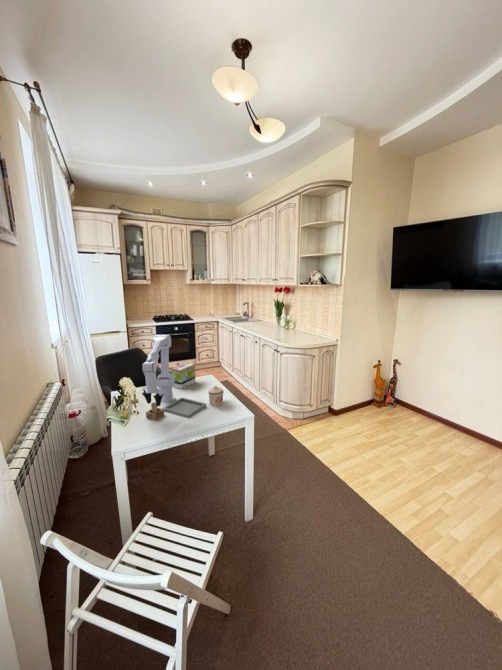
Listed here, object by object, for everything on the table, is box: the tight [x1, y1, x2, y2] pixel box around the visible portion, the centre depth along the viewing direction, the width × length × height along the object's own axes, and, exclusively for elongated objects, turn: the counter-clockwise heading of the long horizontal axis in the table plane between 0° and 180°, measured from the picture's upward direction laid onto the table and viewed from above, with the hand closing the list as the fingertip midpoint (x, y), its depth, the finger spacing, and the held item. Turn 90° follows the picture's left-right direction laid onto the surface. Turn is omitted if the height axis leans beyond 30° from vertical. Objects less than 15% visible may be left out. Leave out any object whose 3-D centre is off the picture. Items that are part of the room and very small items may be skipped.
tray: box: [162, 397, 207, 419], centre depth 164 cm, size 20×16×2 cm
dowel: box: [150, 401, 158, 414], centre depth 155 cm, size 3×3×8 cm
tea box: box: [170, 362, 197, 390], centre depth 200 cm, size 15×10×15 cm
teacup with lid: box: [207, 385, 225, 407], centre depth 170 cm, size 12×9×12 cm
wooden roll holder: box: [145, 407, 165, 421], centre depth 155 cm, size 7×7×4 cm
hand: (154, 404), depth 154 cm, fingers open, 7 cm apart
